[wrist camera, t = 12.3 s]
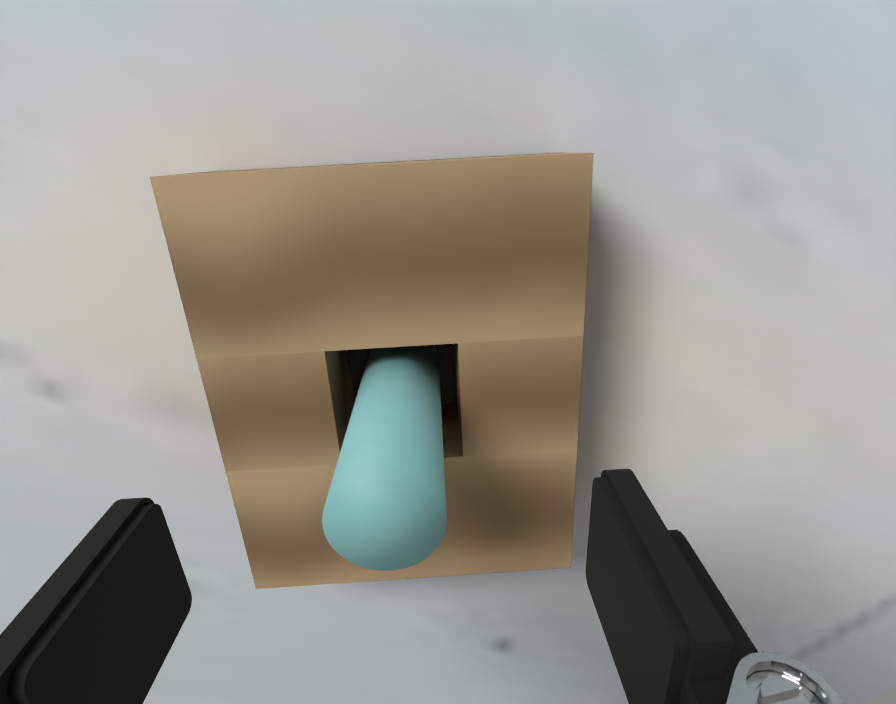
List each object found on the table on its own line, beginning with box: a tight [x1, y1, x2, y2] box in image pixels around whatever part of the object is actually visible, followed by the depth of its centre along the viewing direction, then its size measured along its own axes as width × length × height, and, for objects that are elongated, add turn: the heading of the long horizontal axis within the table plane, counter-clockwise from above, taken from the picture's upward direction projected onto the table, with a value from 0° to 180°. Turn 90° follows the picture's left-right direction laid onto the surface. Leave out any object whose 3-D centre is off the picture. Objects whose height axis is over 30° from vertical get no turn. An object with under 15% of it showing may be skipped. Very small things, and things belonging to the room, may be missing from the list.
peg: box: [322, 345, 447, 571], centre depth 17 cm, size 3×3×10 cm
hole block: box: [150, 153, 593, 589], centre depth 19 cm, size 16×13×4 cm
